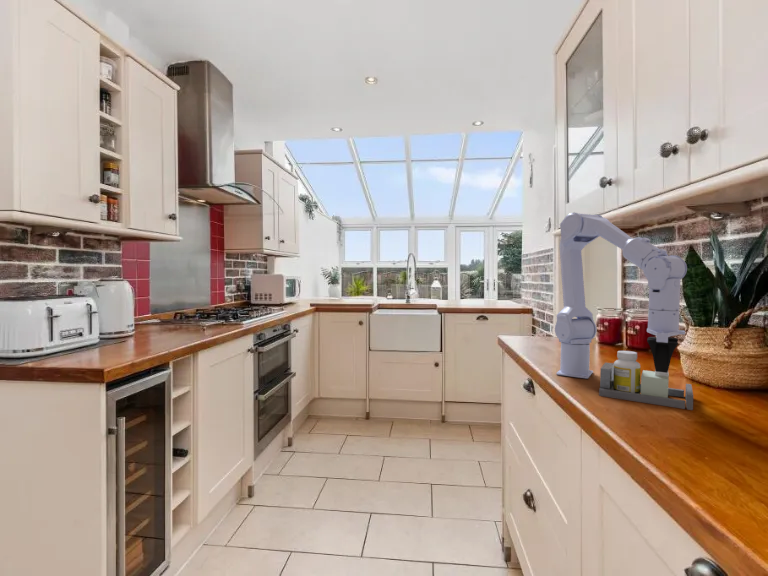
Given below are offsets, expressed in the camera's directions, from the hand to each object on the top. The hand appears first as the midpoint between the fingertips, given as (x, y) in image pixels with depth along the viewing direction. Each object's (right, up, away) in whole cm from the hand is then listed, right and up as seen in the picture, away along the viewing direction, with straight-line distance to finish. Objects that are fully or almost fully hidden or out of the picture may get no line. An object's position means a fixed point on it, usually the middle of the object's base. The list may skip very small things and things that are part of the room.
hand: (661, 370), depth 93 cm
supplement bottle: (-6, -6, +4) cm, 9 cm away
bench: (-3, -6, +2) cm, 7 cm away
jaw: (-1, -6, +1) cm, 6 cm away
